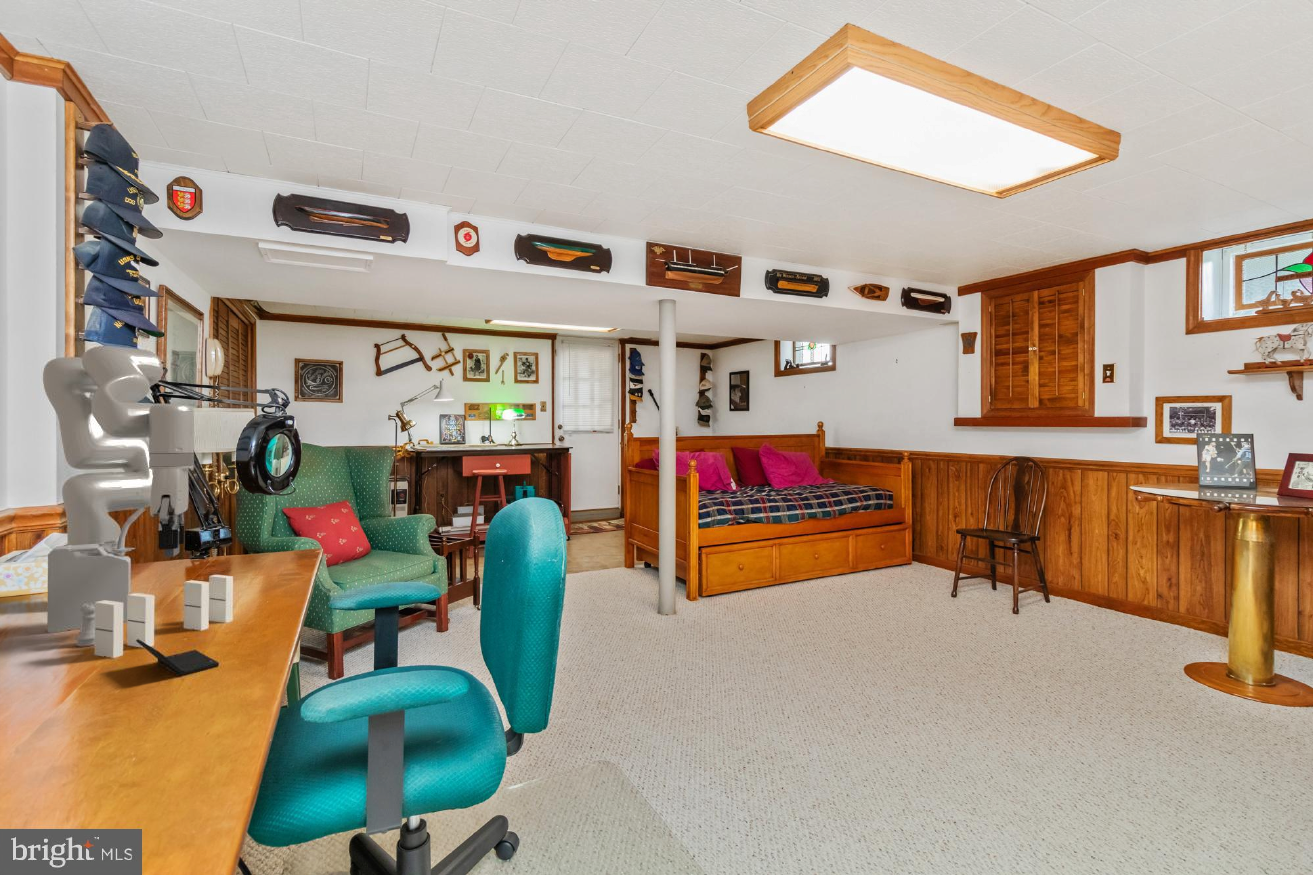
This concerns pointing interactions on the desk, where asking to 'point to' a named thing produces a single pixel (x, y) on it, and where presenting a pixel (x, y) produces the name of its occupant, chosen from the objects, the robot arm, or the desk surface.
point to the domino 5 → (221, 598)
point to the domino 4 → (196, 605)
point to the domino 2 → (140, 619)
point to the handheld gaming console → (183, 661)
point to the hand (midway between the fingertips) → (171, 545)
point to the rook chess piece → (87, 626)
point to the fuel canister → (87, 579)
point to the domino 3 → (175, 551)
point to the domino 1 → (109, 628)
